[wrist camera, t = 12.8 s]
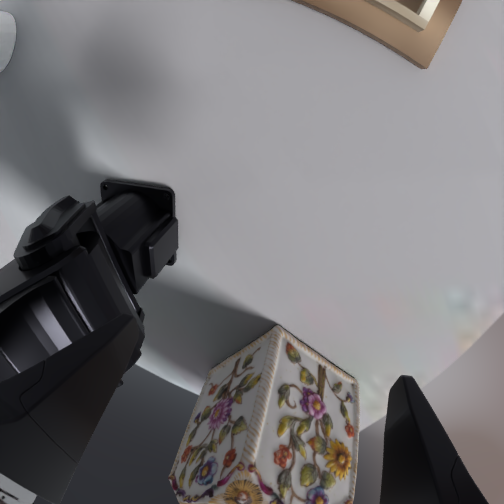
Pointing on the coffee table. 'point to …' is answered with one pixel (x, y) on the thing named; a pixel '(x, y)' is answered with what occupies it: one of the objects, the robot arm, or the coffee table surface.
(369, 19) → the wooden board
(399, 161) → the coffee table surface
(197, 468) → the decorative jar
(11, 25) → the cup
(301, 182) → the coffee table surface
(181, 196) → the coffee table surface
